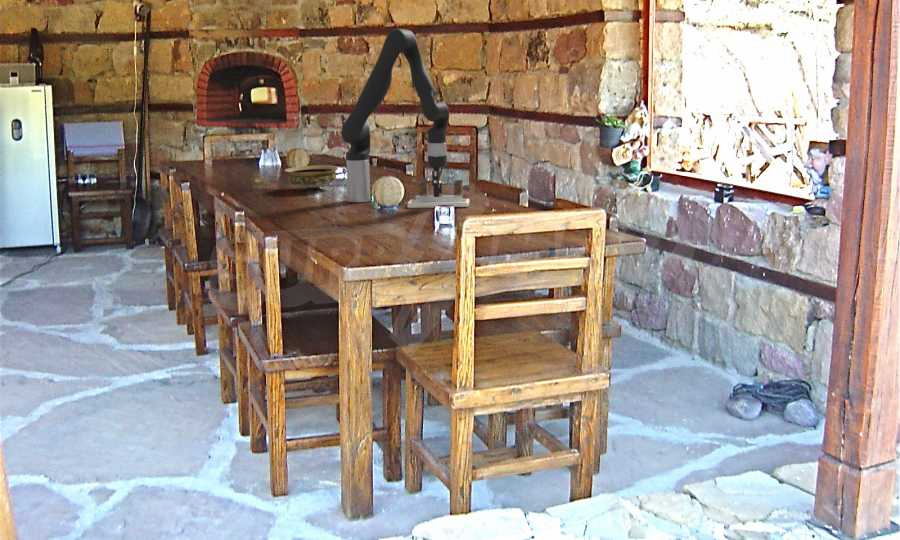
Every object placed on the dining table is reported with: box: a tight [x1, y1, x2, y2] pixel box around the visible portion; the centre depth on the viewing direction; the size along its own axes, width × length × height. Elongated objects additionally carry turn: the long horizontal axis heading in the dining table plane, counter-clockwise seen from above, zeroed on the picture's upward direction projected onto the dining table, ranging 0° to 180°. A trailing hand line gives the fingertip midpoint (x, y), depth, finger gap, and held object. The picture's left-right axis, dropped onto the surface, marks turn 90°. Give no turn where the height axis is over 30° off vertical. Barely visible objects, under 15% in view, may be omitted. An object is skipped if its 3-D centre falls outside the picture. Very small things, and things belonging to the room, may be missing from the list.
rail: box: [415, 194, 462, 203], centre depth 385 cm, size 18×4×4 cm, turn 84°
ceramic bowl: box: [284, 164, 339, 192], centre depth 439 cm, size 30×24×10 cm
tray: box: [407, 198, 471, 209], centre depth 385 cm, size 24×10×2 cm, turn 84°
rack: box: [418, 179, 464, 199], centre depth 394 cm, size 20×6×9 cm, turn 84°
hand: (437, 195), depth 384 cm, fingers open, 8 cm apart
